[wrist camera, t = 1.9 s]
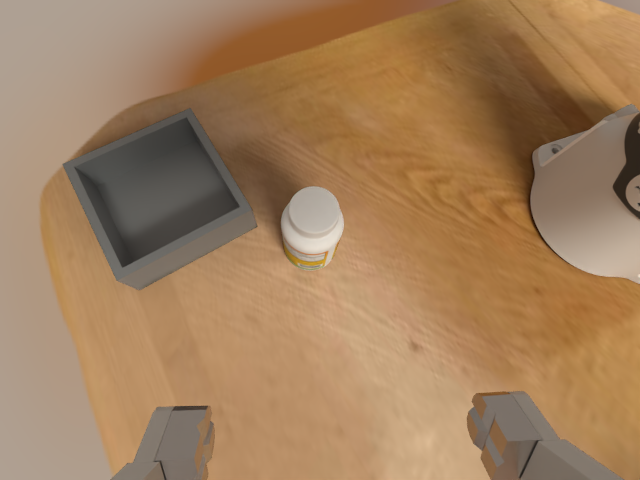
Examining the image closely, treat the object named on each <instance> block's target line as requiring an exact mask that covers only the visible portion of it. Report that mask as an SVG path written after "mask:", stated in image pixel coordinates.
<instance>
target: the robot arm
mask: <svg viewBox="0 0 640 480" xmlns="http://www.w3.org/2000/svg"><path fill="white" fill-rule="evenodd" d="M532 159H533V165H534V170H535V178H534V182H533V185H532V189H531V196H530V202H531V211H532V215H533V218H534V221H535V224H536V226H537V228H538V230H539V232H540V233H541V235H542V237H543V238H544V240H545V241H546V242H547V244H548V245H549V246H550V247H551V248H552V249H553V250H554V251H555V252H556V253H557V254H558V255H559V256H560V257H561V258H563V259H564V260H565V261H567V262H568V263H570V264H571V265H573V266H575V267H577V268H579V269H581V270H583V271H586V272H588V273H591V274H595V275H599V276H607V277H623V278H627V279H629V280H632V281H634V282H636V283H638V284H640V112H639V110H638V109H637V108H636V107H635V105H633V104H630V105H627V106H625V107H623V108H622V109H620V110H618V111H617V112H615V113H614V114H610V115H608V116H607V117H605V118H603V119H602V120H601V121H600V122H599V123H598V124H596V125H595V126H593V127H592V128H591V129H589V130H587V131H584V132H581V133H578V134H575V135H572V136H569V137H566V138H563V139H560V140H557V141H553V142H550V143H547V144H544V145H542V146H540V147H539V148H537V149H536V150H535V151H534V152H533V155H532ZM472 403H473V405H474V407H473V408H472V409H471V410H470V411H469V412H468V416H467V427H468V431H469V434H470V437H471V439H472V441H473V444H475V445H476V446H477V447H478V448H479V449H481V450H482V453H481V460H482V462H483V464H484V467H485V469H486V471H487V473H488V475H489V477H490V479H491V480H624V479H622V478H621V477H619V476H618V475H616V474H615V473H614V472H612V471H611V470H609V469H608V468H606V467H605V466H603V465H602V464H600V463H599V462H597V461H596V460H594V459H593V458H592V457H590V456H589V455H587V454H586V453H584V452H583V451H581V450H580V449H578V448H577V447H575V446H574V445H573V444H571V443H570V442H568V441H567V440H565V439H564V440H560V438H559V437H558V436H557V434H556V433H555V431H554V430H553V429H552V427H551V426H550V424H549V423H548V422H547V420H546V419H545V417H544V416H543V415H542V413H541V412H540V411H539V409H538V408H537V406H536V405H535V404H534V402H533V401H532V399H531V398H530V397H529V395H528V394H527V393H525V392H524V391H516V392H490V393H476V394H475V395H474V396H473V399H472ZM211 415H212V411H211V407H210V406H169V407H157V408H156V409H155V411H154V412H153V414H152V417H151V419H150V422H149V424H148V427H147V429H146V432H145V434H144V437H143V439H142V442H141V444H140V446H139V449H138V451H137V454H136V456H135V459H134V461H133V463H127V464H126V465H125V466H124V467H123V468H122V469H121V470H120V471H119V472H118V473H117V474H116V475H115V476H114V477H113V478H112V479H110V480H207V478H208V469H207V463H208V462H209V460H210V459H211V458H212V454H213V448H214V439H215V430H214V423H213V422H211V421H210V420H211Z"/></svg>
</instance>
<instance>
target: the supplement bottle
mask: <svg viewBox="0 0 640 480" xmlns="http://www.w3.org/2000/svg"><path fill="white" fill-rule="evenodd" d="M343 228H344V219H343V215H342V212H341V210H340V208H339V203H338V201H337V199H336V198H335V196H334V195H333V194H332V193H331V192H330V191H328V190H326V189H324V188H321V187H316V186H311V187H306V188H303V189H301V190H299V191H298V192H297V193H296V194H295V195H294V196H293V197H292V199H291V201H290V202H289V203H288V205H287V206H286V207H285V209H284V211H283V214H282V217H281V230H282V237H283V245H284V250H285V253H286V256H287V258H288V259H289V261H290V262H291V263H292V264H293V265H295V266H296V267H298V268H300V269H303V270H318V269H321V268H323V267H324V266H326V265H327V264H328V263H329V262H330V261H331V260H332V259H333V257H334V255H335V252H336V249H337V247H338V244H339V241H340V239H341V236H342V233H343Z"/></svg>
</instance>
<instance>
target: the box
mask: <svg viewBox="0 0 640 480" xmlns="http://www.w3.org/2000/svg"><path fill="white" fill-rule="evenodd" d="M63 166H64V169H65V171H66V173H67V175H68V177H69V179H70V181H71V184H72V186H73V188H74V190H75V192H76V194H77V196H78V199H79V201H80V203H81V205H82V207H83V209H84V211H85V214H86V216H87V218H88V220H89V222H90V224H91V227H92V229H93V231H94V233H95V235H96V237H97V239H98V242H99V244H100V246H101V248H102V250H103V252H104V254H105V257H106V259H107V261H108V263H109V265H110V267H111V269H112V272H113V274H114V276H115V278H116V280H117V281H118V282H121V283H123V284H126V285H128V286H130V287H133V288H135V289H137V290H141V289H143V288H145V287H147V286H148V285H150V284H152V283H154V282H156V281H158V280H160V279H161V278H163V277H165V276H167V275H169V274H171V273H172V272H174V271H176V270H178V269H180V268H182V267H184V266H185V265H187V264H189V263H191V262H193V261H195V260H197V259H198V258H200V257H202V256H204V255H206V254H208V253H209V252H211V251H213V250H215V249H217V248H219V247H221V246H222V245H224V244H226V243H228V242H230V241H232V240H234V239H235V238H237V237H239V236H241V235H243V234H245V233H246V232H248V231H250V230H252V229H254V228H256V227H257V224H256V221H255V217H254V214H253V211H252V208H251V207H250V205H249V204H248V202H247V200H246V199H245V197H244V195H243V194H242V192H241V190H240V189H239V187H238V185H237V184H236V182H235V180H234V179H233V177H232V176H231V174H230V172H229V171H228V169H227V167H226V166H225V164H224V162H223V161H222V159H221V157H220V156H219V154H218V153H217V151H216V149H215V148H214V146H213V144H212V143H211V141H210V139H209V138H208V136H207V134H206V133H205V131H204V129H203V128H202V126H201V125H200V123H199V121H198V120H197V118H196V116H195V115H194V113H193V111H192V110H191V108H189V109H187V110H185V111H182V112H180V113H178V114H176V115H173V116H171V117H169V118H167V119H164V120H162V121H160V122H157V123H155V124H153V125H151V126H148V127H146V128H144V129H141V130H139V131H137V132H135V133H132V134H130V135H128V136H126V137H123V138H121V139H119V140H116V141H114V142H112V143H110V144H107V145H105V146H103V147H100V148H98V149H96V150H94V151H91V152H89V153H87V154H85V155H82V156H80V157H78V158H75V159H73V160H71V161H69V162H66V163H64V164H63Z"/></svg>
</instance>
